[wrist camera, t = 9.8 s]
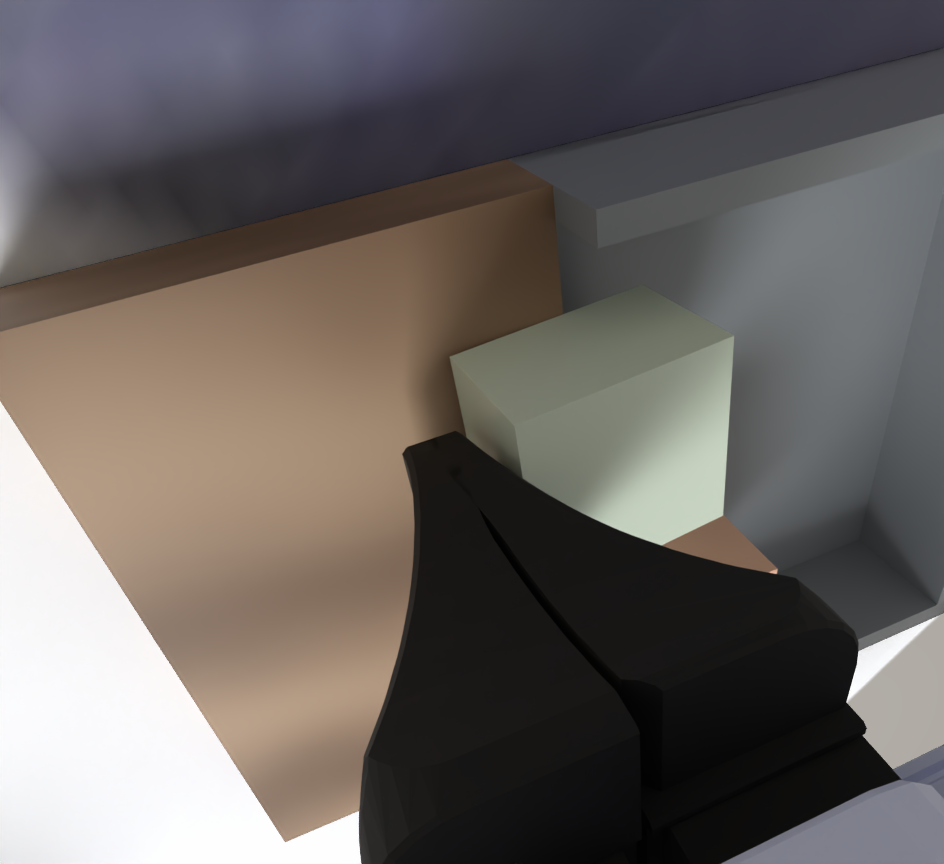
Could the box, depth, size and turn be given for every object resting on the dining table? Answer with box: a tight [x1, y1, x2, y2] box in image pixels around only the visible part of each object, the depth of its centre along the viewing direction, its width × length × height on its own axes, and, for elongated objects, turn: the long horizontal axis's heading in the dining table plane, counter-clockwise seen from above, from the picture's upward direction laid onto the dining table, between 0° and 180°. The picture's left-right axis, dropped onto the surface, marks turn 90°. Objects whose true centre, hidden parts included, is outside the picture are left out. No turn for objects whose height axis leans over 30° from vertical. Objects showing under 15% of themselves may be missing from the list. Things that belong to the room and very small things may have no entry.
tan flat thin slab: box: [0, 159, 563, 842], centre depth 16 cm, size 15×9×2 cm, turn 9°
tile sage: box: [450, 285, 734, 545], centre depth 13 cm, size 4×4×2 cm
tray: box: [508, 48, 944, 651], centre depth 17 cm, size 15×11×4 cm
